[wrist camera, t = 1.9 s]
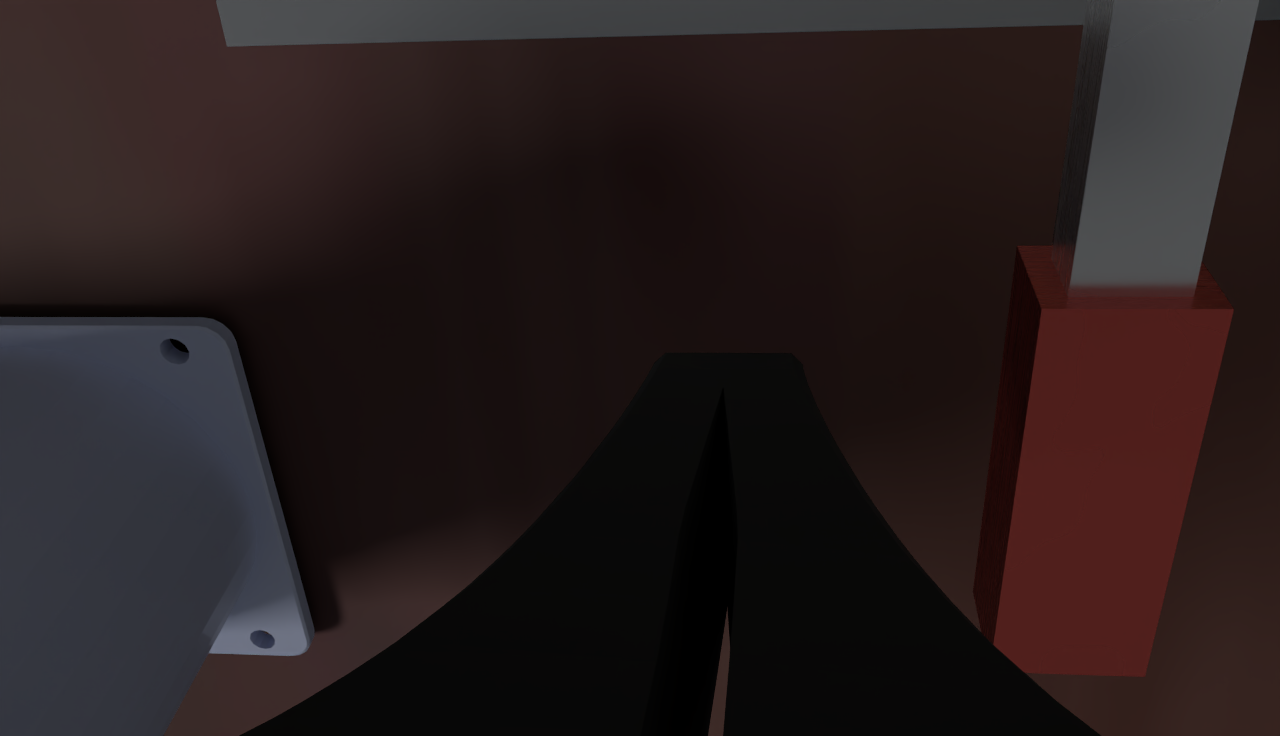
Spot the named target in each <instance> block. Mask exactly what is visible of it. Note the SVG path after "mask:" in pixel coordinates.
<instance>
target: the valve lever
mask: <svg viewBox="0 0 1280 736" xmlns="http://www.w3.org/2000/svg"><path fill="white" fill-rule="evenodd" d="M1258 4H1259V0H1087V6H1086V13H1085V20H1084V26H1083V33H1082V40H1081V47H1080V54H1079V61H1078V68H1077V75H1076V82H1075V89H1074V96H1073V102H1072V109H1071V116H1070V123H1069V130H1068V137H1067V144H1066V151H1065V158H1064V165H1063V172H1062V178H1061V185H1060V192H1059V199H1058V206H1057V213H1056V220H1055V227H1054V234H1053V241H1052V246H1017V250H1016V258H1015V266H1014V274H1013V282H1012V290H1011V298H1010V305H1009V313H1008V321H1007V329H1006V337H1005V345H1004V352H1003V360H1002V368H1001V376H1000V384H999V392H998V399H997V407H996V415H995V423H994V431H993V439H992V447H991V454H990V462H989V470H988V478H987V486H986V494H985V501H984V509H983V517H982V525H981V533H980V541H979V548H978V556H977V564H976V572H975V580H974V588H973V594H974V599H975V604H976V608H977V613H978V618H979V623H980V628H981V633H982V634H983V635H984V636H985V637H986V638H987V639H988V640H989V641H990V642H991V643H992V644H993V645H994V646H995V647H996V648H997V649H999V650H1000V651H1001V652H1002V653H1003V654H1004V655H1005V656H1006V657H1008V658H1009V659H1010V660H1011V661H1012V662H1013V663H1014V664H1015V665H1016V666H1018V667H1019V668H1020V669H1021V670H1022V671H1023V672H1024V673H1046V674H1077V675H1108V676H1138V677H1145V674H1146V670H1147V666H1148V662H1149V658H1150V654H1151V650H1152V645H1153V641H1154V637H1155V633H1156V629H1157V625H1158V621H1159V617H1160V612H1161V608H1162V604H1163V600H1164V596H1165V592H1166V588H1167V584H1168V579H1169V575H1170V571H1171V567H1172V563H1173V559H1174V555H1175V551H1176V546H1177V542H1178V538H1179V534H1180V530H1181V526H1182V522H1183V518H1184V513H1185V509H1186V505H1187V501H1188V497H1189V493H1190V489H1191V485H1192V480H1193V476H1194V472H1195V468H1196V464H1197V460H1198V456H1199V452H1200V448H1201V443H1202V439H1203V435H1204V431H1205V427H1206V423H1207V419H1208V415H1209V410H1210V406H1211V402H1212V398H1213V394H1214V390H1215V386H1216V382H1217V377H1218V373H1219V369H1220V365H1221V361H1222V357H1223V353H1224V349H1225V344H1226V340H1227V336H1228V332H1229V328H1230V324H1231V320H1232V316H1233V311H1234V308H1233V307H1232V305H1231V304H1230V302H1229V301H1228V299H1227V298H1226V296H1225V295H1224V293H1223V292H1222V290H1221V289H1220V287H1219V286H1218V284H1217V283H1216V281H1215V280H1214V278H1213V277H1212V275H1211V274H1210V272H1209V271H1208V269H1207V268H1206V266H1205V265H1204V263H1203V262H1202V257H1203V253H1204V248H1205V244H1206V239H1207V235H1208V230H1209V226H1210V221H1211V217H1212V212H1213V208H1214V203H1215V199H1216V194H1217V189H1218V185H1219V180H1220V176H1221V171H1222V167H1223V162H1224V158H1225V153H1226V149H1227V144H1228V140H1229V135H1230V131H1231V126H1232V121H1233V117H1234V112H1235V108H1236V103H1237V99H1238V94H1239V90H1240V85H1241V81H1242V76H1243V72H1244V67H1245V63H1246V58H1247V53H1248V49H1249V44H1250V40H1251V35H1252V31H1253V26H1254V22H1255V17H1256V13H1257V8H1258Z"/></svg>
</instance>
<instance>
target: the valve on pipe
mask: <svg viewBox="0 0 1280 736" xmlns="http://www.w3.org/2000/svg"><path fill="white" fill-rule="evenodd" d="M216 2H217V7H218V11H219V15H220V19H221V23H222V27H223V32H224V36H225V40H226V44H227V46H264V45H303V44H343V43H382V42H422V41H461V40H501V39H540V38H580V37H619V36H659V35H698V34H738V33H777V32H817V31H857V30H896V29H936V28H975V27H1015V26H1054V25H1084V20H1085V13H1086V6H1087V0H216ZM1255 20H1280V0H1259V4H1258V8H1257V13H1256V17H1255Z"/></svg>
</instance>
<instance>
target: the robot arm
mask: <svg viewBox="0 0 1280 736" xmlns="http://www.w3.org/2000/svg"><path fill="white" fill-rule="evenodd" d="M170 339H175V340H179V341H180V342H181V343H183V344H184V345H185V346H186V347H187V349H188V351H189V353H186V352H182V351H179V350H178V349H176V348H175V347H174V346H173V345H172V343H171V341H170ZM727 606H728V621H729V636H730V660H729V673H728V685H727V696H726V708H725V720H724V732H723V736H1101V735H1100V734H1098V733H1097V732H1096V731H1094V730H1093V729H1092V728H1090V727H1089V726H1088V725H1087V724H1085V723H1084V722H1083V721H1081V720H1080V719H1079V718H1078V717H1076V716H1075V715H1074V714H1072V713H1071V712H1070V711H1069V710H1067V709H1066V708H1065V707H1063V706H1062V705H1061V704H1059V703H1058V702H1057V701H1056V700H1055V699H1053V698H1052V697H1051V696H1050V695H1049V694H1048V693H1047V692H1046V691H1044V690H1043V689H1042V688H1041V687H1040V686H1039V685H1038V684H1037V683H1036V682H1034V681H1033V680H1032V679H1031V678H1030V677H1029V676H1028V675H1027V674H1025V673H1024V672H1023V671H1022V670H1021V669H1020V668H1019V667H1018V666H1016V665H1015V664H1014V663H1013V662H1012V661H1011V660H1010V659H1009V658H1008V657H1006V656H1005V655H1004V654H1003V653H1002V652H1001V651H1000V650H999V649H997V648H996V647H995V646H994V645H993V644H992V643H991V642H990V641H989V640H988V639H987V638H986V637H985V636H984V635H983V634H982V633H981V632H980V631H979V630H978V629H977V628H976V627H975V626H974V625H973V624H972V623H971V622H970V620H969V619H968V618H967V617H966V616H965V615H964V614H963V613H962V612H961V611H960V610H959V609H958V608H957V607H956V606H955V605H954V604H953V603H952V602H951V601H950V599H949V598H948V597H947V596H946V595H945V594H944V593H943V592H942V590H941V589H940V588H939V587H938V586H937V585H936V584H935V582H934V581H933V580H932V579H931V578H930V577H929V576H928V575H927V573H926V572H925V571H924V570H923V569H922V567H921V566H920V565H919V564H918V562H917V561H916V560H915V559H914V558H913V556H912V555H911V554H910V553H909V551H908V550H907V549H906V547H905V546H904V545H903V544H902V542H901V541H900V540H899V538H898V537H897V536H896V534H895V533H894V532H893V530H892V529H891V527H890V526H889V525H888V523H887V522H886V520H885V519H884V518H883V516H882V515H881V514H880V512H879V511H878V509H877V508H876V507H875V505H874V504H873V502H872V501H871V499H870V498H869V496H868V495H867V493H866V492H865V490H864V489H863V487H862V486H861V484H860V482H859V481H858V479H857V477H856V476H855V474H854V472H853V471H852V469H851V467H850V466H849V464H848V463H847V461H846V459H845V458H844V456H843V454H842V453H841V451H840V449H839V448H838V446H837V444H836V442H835V440H834V439H833V437H832V435H831V433H830V431H829V429H828V427H827V425H826V423H825V421H824V419H823V417H822V415H821V413H820V411H819V409H818V407H817V405H816V402H815V400H814V398H813V396H812V393H811V391H810V388H809V386H808V383H807V380H806V377H805V374H804V370H803V364H802V363H801V362H800V361H799V360H798V359H797V358H796V357H794V356H793V355H792V354H791V353H665V354H664V355H663V356H662V357H661V358H659V359H658V360H657V361H656V362H655V363H654V365H653V367H652V369H651V370H650V372H649V374H648V376H647V377H646V379H645V381H644V382H643V384H642V386H641V387H640V389H639V390H638V392H637V393H636V395H635V397H634V398H633V400H632V401H631V403H630V404H629V406H628V407H627V408H626V410H625V411H624V413H623V414H622V416H621V417H620V418H619V420H618V421H617V423H616V424H615V426H614V427H613V428H612V430H611V431H610V432H609V434H608V435H607V436H606V437H605V439H604V440H603V441H602V443H601V444H600V445H599V447H598V448H597V449H596V451H595V452H594V453H593V454H592V456H591V457H590V458H589V460H588V461H587V462H586V464H585V465H584V466H583V467H582V469H581V470H580V471H579V472H578V474H577V475H576V476H575V477H574V478H573V479H572V481H571V482H570V483H569V484H568V485H567V486H566V487H565V488H564V490H563V491H562V492H561V493H560V494H559V495H558V496H557V497H556V499H555V500H554V501H553V502H552V503H551V504H550V505H549V506H548V508H547V509H546V510H545V511H544V512H543V513H542V514H541V515H540V517H539V518H538V519H537V520H536V521H535V522H534V523H533V524H532V525H531V526H530V527H529V528H528V529H527V530H526V532H525V533H524V534H523V535H522V536H521V537H520V538H519V539H518V540H517V541H516V542H515V543H514V544H513V545H512V546H511V547H510V548H509V549H507V550H506V551H505V552H504V553H503V554H502V555H501V556H500V557H499V558H498V559H497V560H496V561H495V562H494V563H493V564H492V565H490V566H489V567H488V568H487V569H486V570H485V571H484V572H483V573H482V574H481V575H479V576H478V577H477V578H476V579H475V580H474V581H473V582H472V583H471V584H469V585H468V586H467V587H466V588H465V589H464V590H462V591H461V592H460V593H459V594H457V595H456V596H455V597H454V598H452V599H451V600H450V601H449V602H447V603H446V604H445V605H444V606H443V607H441V608H440V609H439V610H437V611H436V612H435V613H434V614H432V615H431V616H430V617H428V618H427V619H426V620H424V621H423V622H422V623H420V624H419V625H418V626H416V627H415V628H414V629H412V630H411V631H410V632H409V633H407V634H406V635H405V636H403V637H402V638H401V639H399V640H398V641H397V642H395V643H394V644H392V645H391V646H389V647H388V648H387V649H385V650H384V651H382V652H381V653H379V654H378V655H376V656H375V657H373V658H372V659H370V660H368V661H367V662H365V663H364V664H362V665H361V666H359V667H358V668H356V669H355V670H353V671H352V672H350V673H349V674H347V675H346V676H344V677H342V678H341V679H339V680H337V681H336V682H334V683H332V684H331V685H329V686H327V687H326V688H324V689H323V690H321V691H319V692H318V693H316V694H314V695H313V696H311V697H309V698H308V699H306V700H304V701H303V702H301V703H299V704H297V705H296V706H294V707H292V708H290V709H289V710H287V711H285V712H283V713H282V714H280V715H278V716H276V717H275V718H273V719H271V720H269V721H267V722H265V723H263V724H261V725H259V726H257V727H255V728H253V729H251V730H249V731H247V732H246V733H244V734H242V735H240V736H708V731H709V725H710V718H711V712H712V705H713V699H714V692H715V686H716V679H717V673H718V666H719V659H720V653H721V646H722V639H723V633H724V626H725V619H726V612H727ZM261 630H262V631H266V632H268V633H269V634H265V633H264V632H262V631H261ZM270 634H271V635H270ZM313 638H314V626H313V622H312V618H311V615H310V611H309V607H308V603H307V600H306V596H305V592H304V589H303V585H302V581H301V578H300V574H299V570H298V567H297V563H296V559H295V556H294V552H293V548H292V545H291V541H290V537H289V534H288V530H287V526H286V523H285V519H284V515H283V512H282V508H281V504H280V500H279V497H278V493H277V489H276V486H275V482H274V478H273V475H272V471H271V467H270V464H269V460H268V456H267V453H266V449H265V445H264V442H263V438H262V434H261V431H260V427H259V423H258V420H257V416H256V412H255V409H254V405H253V401H252V397H251V394H250V390H249V386H248V383H247V379H246V375H245V372H244V368H243V364H242V361H241V357H240V353H239V350H238V346H237V342H236V340H235V338H234V336H233V334H232V332H231V331H230V330H229V329H228V328H227V327H226V326H225V325H224V324H222V323H220V322H218V321H216V320H214V319H210V318H204V317H0V736H163V735H164V733H165V732H166V730H167V728H168V726H169V724H170V722H171V721H172V719H173V717H174V715H175V713H176V712H177V710H178V708H179V706H180V704H181V702H182V701H183V699H184V697H185V695H186V693H187V691H188V690H189V688H190V686H191V684H192V682H193V680H194V679H195V677H196V675H197V673H198V671H199V670H200V668H201V666H202V664H203V662H204V660H205V659H206V657H207V655H208V653H220V654H250V655H280V656H294V655H300V654H302V653H304V652H306V651H307V649H308V648H309V646H310V644H311V642H312V640H313Z"/></svg>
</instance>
